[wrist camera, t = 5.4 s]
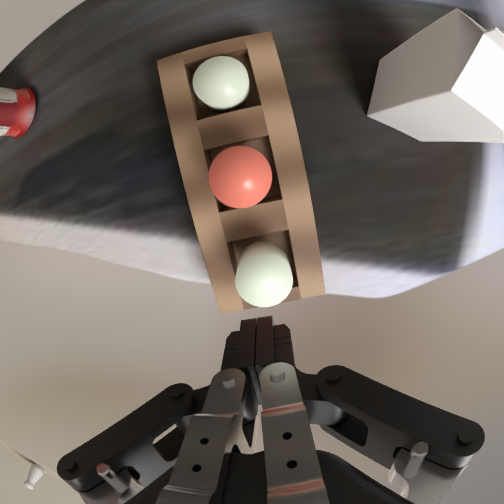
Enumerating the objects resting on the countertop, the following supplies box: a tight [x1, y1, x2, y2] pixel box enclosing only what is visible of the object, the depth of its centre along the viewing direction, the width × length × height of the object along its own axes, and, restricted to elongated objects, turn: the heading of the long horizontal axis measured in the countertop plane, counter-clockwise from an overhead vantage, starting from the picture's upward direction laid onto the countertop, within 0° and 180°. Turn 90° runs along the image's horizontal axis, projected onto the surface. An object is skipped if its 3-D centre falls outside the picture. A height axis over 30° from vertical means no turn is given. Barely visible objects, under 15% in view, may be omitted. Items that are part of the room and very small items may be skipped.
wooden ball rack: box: [157, 31, 325, 313], centre depth 25 cm, size 24×10×5 cm, turn 12°
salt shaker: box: [24, 463, 43, 490], centre depth 56 cm, size 6×6×13 cm
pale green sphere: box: [193, 56, 250, 112], centre depth 21 cm, size 4×4×4 cm
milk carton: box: [367, 8, 504, 143], centre depth 15 cm, size 7×7×19 cm
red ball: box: [208, 146, 272, 208], centre depth 21 cm, size 4×4×4 cm
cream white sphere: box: [235, 241, 293, 307], centre depth 24 cm, size 4×4×4 cm
